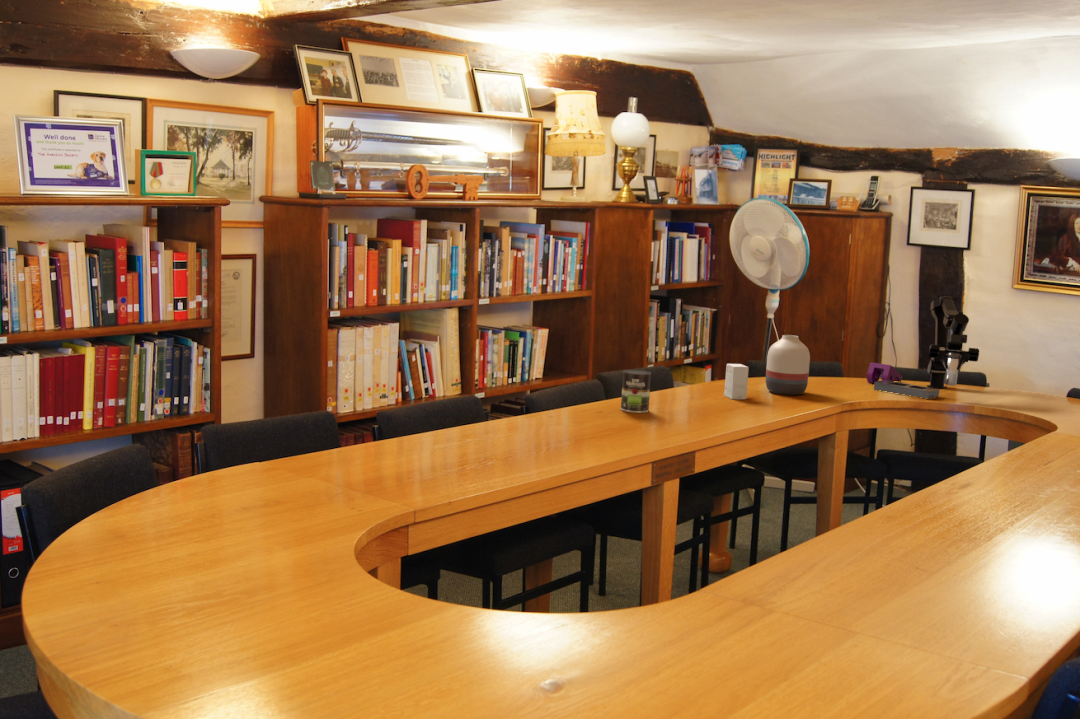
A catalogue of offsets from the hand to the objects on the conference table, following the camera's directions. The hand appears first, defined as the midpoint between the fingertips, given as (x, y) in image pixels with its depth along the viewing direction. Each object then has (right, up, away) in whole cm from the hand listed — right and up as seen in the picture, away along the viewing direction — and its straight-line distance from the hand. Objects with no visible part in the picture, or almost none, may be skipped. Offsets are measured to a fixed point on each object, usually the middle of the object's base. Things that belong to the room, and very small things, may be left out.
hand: (952, 369), depth 387 cm
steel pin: (0, -6, +2) cm, 7 cm away
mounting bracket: (-13, -7, +40) cm, 43 cm away
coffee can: (-133, -15, -43) cm, 141 cm away
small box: (-90, -11, -10) cm, 92 cm away
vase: (-66, -10, +6) cm, 67 cm away
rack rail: (-13, -11, +16) cm, 23 cm away
